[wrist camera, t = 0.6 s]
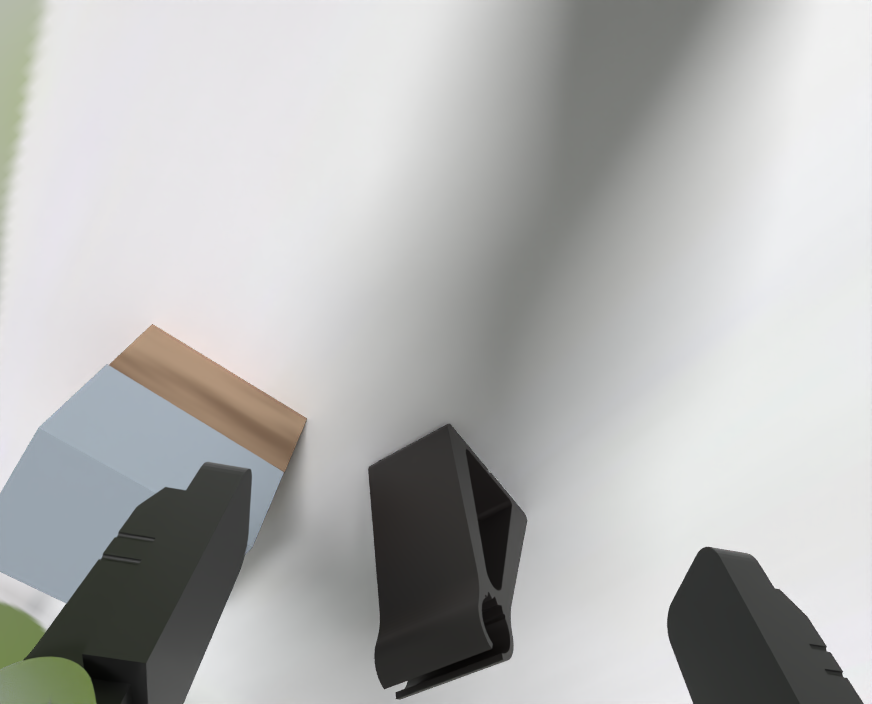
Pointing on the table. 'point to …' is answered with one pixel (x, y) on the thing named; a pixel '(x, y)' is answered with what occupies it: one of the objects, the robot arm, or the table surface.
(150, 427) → the tower top
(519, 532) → the phone stand
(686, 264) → the table surface
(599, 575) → the table surface
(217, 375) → the tower bottom
